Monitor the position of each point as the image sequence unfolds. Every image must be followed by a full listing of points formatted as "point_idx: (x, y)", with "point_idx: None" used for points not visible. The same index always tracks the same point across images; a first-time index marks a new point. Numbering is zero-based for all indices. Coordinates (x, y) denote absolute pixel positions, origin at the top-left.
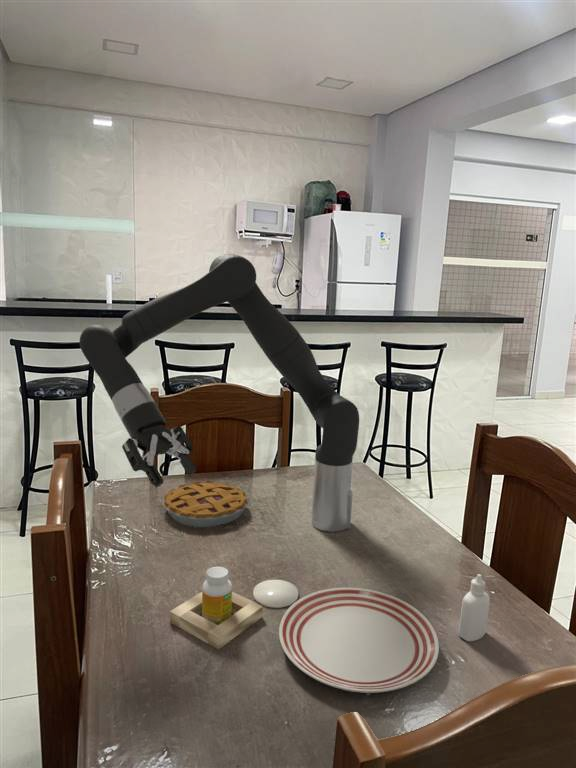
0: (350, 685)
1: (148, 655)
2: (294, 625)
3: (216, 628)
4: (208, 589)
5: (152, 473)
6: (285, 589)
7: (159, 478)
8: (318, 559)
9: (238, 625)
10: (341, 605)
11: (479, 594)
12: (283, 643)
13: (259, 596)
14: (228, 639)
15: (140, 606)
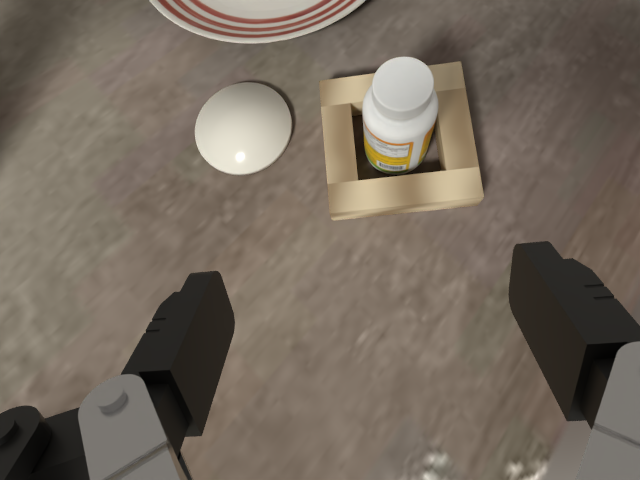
0: None
1: (574, 149)
2: (314, 15)
3: (443, 86)
4: (435, 96)
5: (611, 309)
6: (221, 119)
7: (556, 254)
8: (70, 162)
9: None
10: (201, 5)
11: None
12: None
13: (279, 137)
14: None
15: (494, 301)
